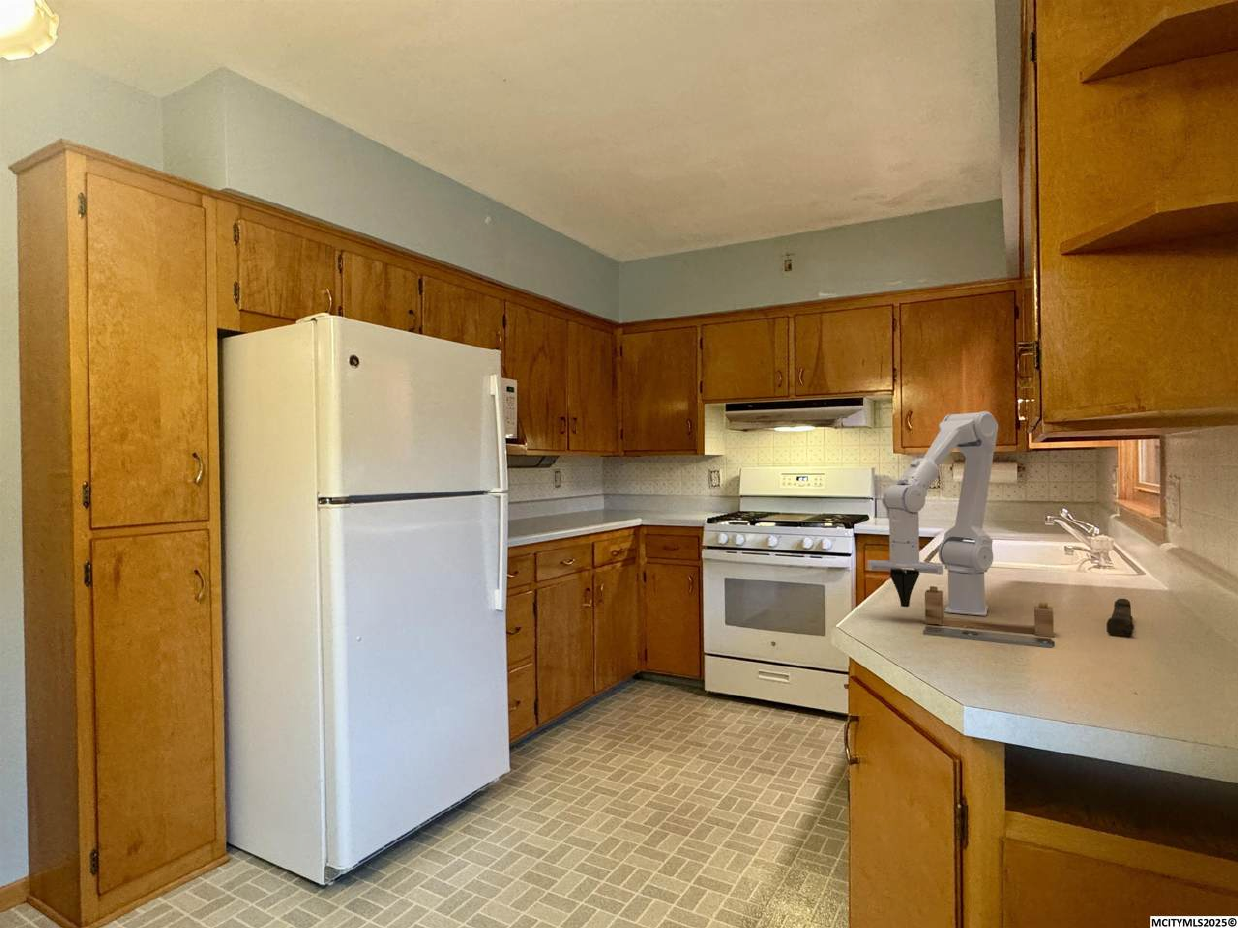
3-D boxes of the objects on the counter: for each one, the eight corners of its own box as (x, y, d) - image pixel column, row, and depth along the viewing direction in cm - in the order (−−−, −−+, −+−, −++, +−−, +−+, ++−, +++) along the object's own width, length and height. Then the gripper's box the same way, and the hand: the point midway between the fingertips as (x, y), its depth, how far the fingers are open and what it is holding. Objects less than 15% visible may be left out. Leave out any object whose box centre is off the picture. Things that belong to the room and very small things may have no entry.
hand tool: (1133, 640, 122) (1133, 615, 122) (1106, 636, 125) (1106, 612, 125) (1140, 621, 136) (1140, 598, 136) (1116, 618, 139) (1116, 596, 139)
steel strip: (925, 628, 132) (925, 625, 132) (1054, 642, 121) (1054, 638, 121) (923, 634, 128) (923, 630, 128) (1055, 648, 117) (1055, 644, 117)
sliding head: (927, 618, 139) (926, 584, 139) (943, 620, 137) (942, 585, 137) (925, 623, 135) (924, 587, 135) (941, 624, 134) (940, 589, 134)
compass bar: (930, 620, 138) (929, 592, 138) (1052, 632, 127) (1052, 601, 127) (928, 624, 135) (927, 595, 135) (1053, 637, 124) (1053, 605, 124)
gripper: (864, 542, 139) (865, 606, 139) (940, 545, 132) (941, 613, 132) (870, 538, 145) (871, 600, 145) (943, 541, 138) (944, 606, 138)
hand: (905, 606), depth 139 cm, fingers closed
